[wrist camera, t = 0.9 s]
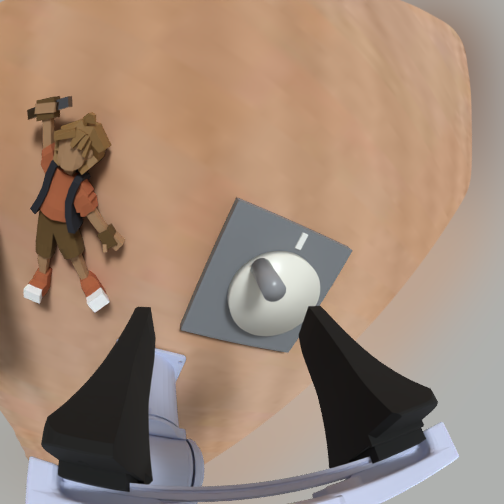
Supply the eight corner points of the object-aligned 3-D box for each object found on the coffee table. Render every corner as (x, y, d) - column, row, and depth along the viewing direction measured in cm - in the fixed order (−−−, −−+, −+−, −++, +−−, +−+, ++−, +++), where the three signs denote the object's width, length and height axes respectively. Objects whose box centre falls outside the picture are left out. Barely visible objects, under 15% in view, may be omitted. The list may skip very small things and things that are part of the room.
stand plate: (285, 347, 33) (288, 353, 32) (180, 323, 28) (180, 331, 27) (347, 246, 29) (353, 250, 28) (236, 197, 24) (239, 200, 23)
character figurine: (35, 283, 22) (20, 305, 19) (44, 97, 16) (22, 94, 13) (117, 298, 25) (111, 323, 22) (143, 104, 19) (135, 99, 16)
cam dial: (324, 303, 30) (347, 332, 25) (250, 341, 30) (262, 376, 25) (298, 230, 25) (323, 254, 21) (208, 276, 25) (215, 310, 21)
